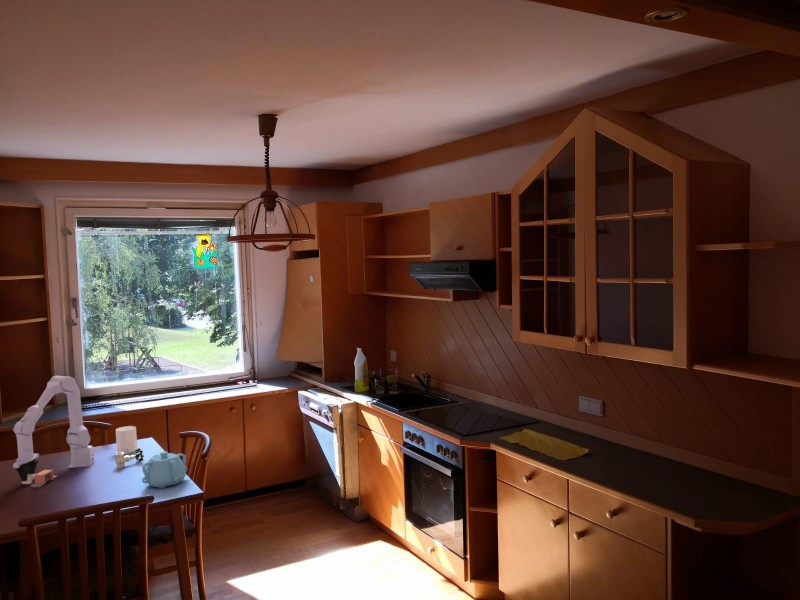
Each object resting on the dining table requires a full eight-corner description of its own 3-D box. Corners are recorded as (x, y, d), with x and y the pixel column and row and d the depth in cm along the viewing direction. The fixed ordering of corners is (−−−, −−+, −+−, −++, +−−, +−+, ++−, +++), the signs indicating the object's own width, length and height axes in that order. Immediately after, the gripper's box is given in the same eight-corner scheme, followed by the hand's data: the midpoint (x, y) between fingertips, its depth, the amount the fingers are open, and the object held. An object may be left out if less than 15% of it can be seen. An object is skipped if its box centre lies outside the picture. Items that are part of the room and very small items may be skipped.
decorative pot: (176, 490, 272) (174, 458, 271) (138, 490, 273) (136, 458, 272) (191, 477, 288) (190, 446, 287) (156, 477, 289) (154, 446, 288)
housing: (57, 477, 295) (56, 467, 295) (39, 487, 282) (39, 477, 282) (48, 477, 295) (48, 467, 295) (30, 487, 283) (30, 477, 282)
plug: (49, 480, 291) (49, 473, 290) (43, 483, 287) (43, 476, 286) (27, 480, 291) (27, 474, 291) (22, 483, 288) (21, 477, 287)
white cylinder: (133, 447, 338) (131, 425, 338) (142, 452, 330) (140, 429, 329) (114, 452, 332) (112, 429, 331) (123, 456, 323) (121, 433, 322)
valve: (120, 469, 303) (144, 462, 312) (119, 455, 302) (143, 449, 311) (112, 467, 307) (137, 460, 316) (111, 453, 306) (136, 446, 316)
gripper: (27, 443, 296) (29, 473, 297) (5, 453, 282) (7, 484, 282) (42, 443, 295) (44, 473, 296) (21, 453, 281) (23, 484, 282)
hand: (27, 479), depth 289 cm, fingers closed on plug, 4 cm apart
